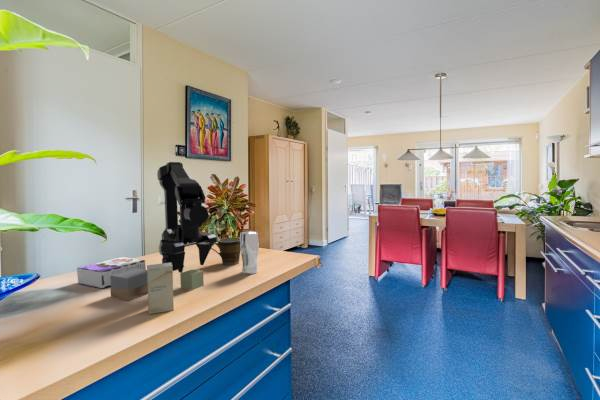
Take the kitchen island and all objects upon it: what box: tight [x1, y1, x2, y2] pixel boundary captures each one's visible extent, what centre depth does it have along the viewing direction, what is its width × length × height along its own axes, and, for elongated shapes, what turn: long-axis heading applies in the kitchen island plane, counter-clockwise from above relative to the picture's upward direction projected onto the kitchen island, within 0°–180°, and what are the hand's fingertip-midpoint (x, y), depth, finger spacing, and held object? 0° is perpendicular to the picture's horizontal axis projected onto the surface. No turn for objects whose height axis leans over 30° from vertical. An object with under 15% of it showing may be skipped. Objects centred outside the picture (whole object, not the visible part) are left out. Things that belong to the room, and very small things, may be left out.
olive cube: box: [179, 268, 205, 291], centre depth 101 cm, size 5×5×5 cm
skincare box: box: [146, 262, 175, 315], centre depth 83 cm, size 6×4×12 cm
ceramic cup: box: [211, 237, 241, 266], centre depth 129 cm, size 13×10×10 cm
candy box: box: [76, 256, 147, 289], centre depth 111 cm, size 14×6×16 cm
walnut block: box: [109, 284, 148, 302], centre depth 95 cm, size 8×8×4 cm
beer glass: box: [239, 230, 260, 275], centre depth 116 cm, size 7×7×15 cm
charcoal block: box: [110, 268, 148, 290], centre depth 95 cm, size 8×8×4 cm
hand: (191, 268), depth 101 cm, fingers open, 9 cm apart
